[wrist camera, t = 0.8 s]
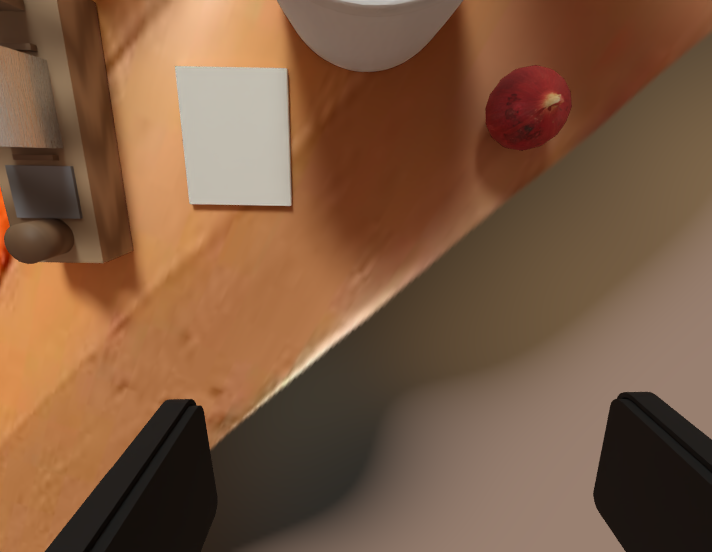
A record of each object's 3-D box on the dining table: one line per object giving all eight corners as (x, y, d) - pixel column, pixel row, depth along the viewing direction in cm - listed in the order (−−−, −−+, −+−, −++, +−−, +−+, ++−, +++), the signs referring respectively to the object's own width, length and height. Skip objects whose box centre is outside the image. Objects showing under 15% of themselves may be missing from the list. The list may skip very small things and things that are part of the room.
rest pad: (178, 67, 32) (175, 66, 31) (288, 69, 32) (286, 68, 31) (192, 203, 35) (189, 204, 35) (291, 205, 35) (290, 205, 35)
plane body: (6, 1, 31) (-142, -65, 22) (95, 2, 31) (-15, -62, 22) (58, 249, 37) (-41, 279, 27) (133, 250, 37) (58, 281, 27)
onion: (512, 164, 34) (556, 166, 27) (459, 125, 33) (490, 115, 26) (557, 104, 33) (618, 87, 25) (504, 61, 32) (550, 31, 24)
